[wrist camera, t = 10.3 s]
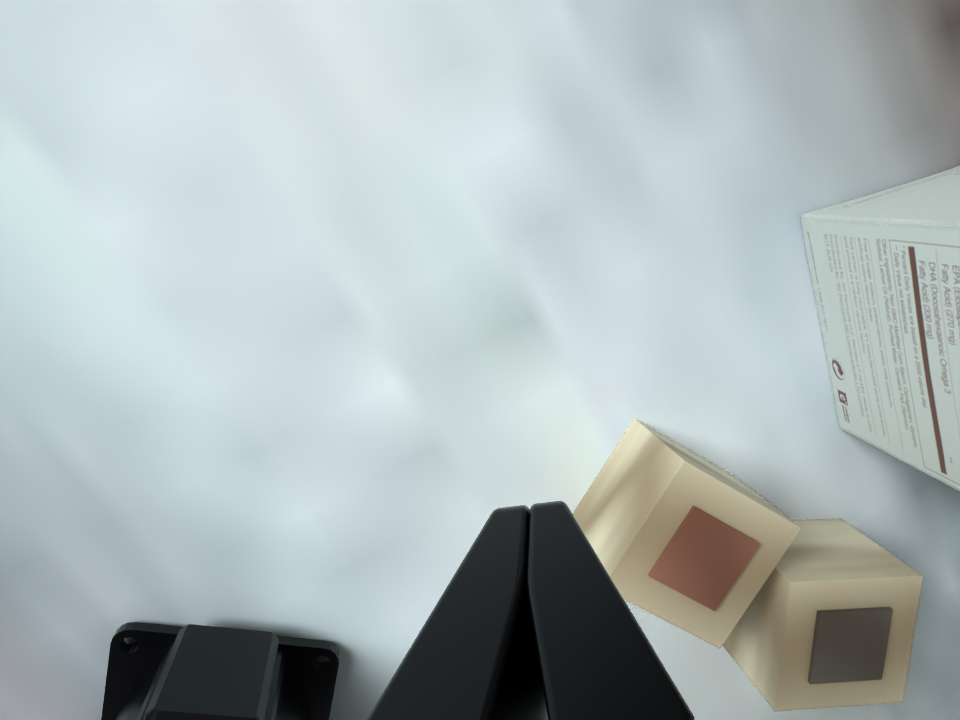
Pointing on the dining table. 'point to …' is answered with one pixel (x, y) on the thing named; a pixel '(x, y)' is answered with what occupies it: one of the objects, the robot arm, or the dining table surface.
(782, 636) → the marked block
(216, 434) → the dining table surface
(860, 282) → the supplement box
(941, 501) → the dining table surface
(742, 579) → the marked block
